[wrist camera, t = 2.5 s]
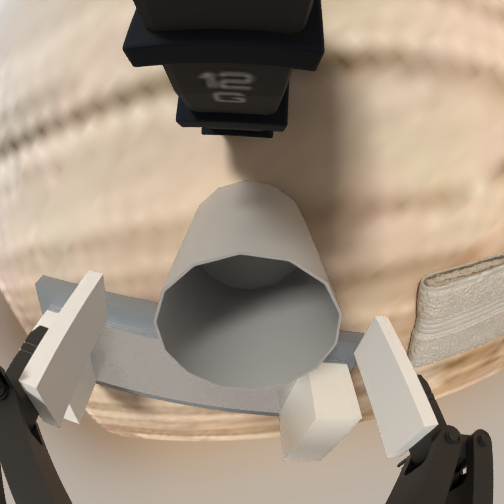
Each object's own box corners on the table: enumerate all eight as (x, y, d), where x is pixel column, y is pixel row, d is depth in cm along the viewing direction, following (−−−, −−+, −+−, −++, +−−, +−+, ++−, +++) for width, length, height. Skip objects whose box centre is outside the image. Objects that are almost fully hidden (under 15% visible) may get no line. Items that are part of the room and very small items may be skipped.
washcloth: (510, 316, 28) (522, 331, 25) (401, 359, 29) (410, 379, 27) (532, 237, 22) (549, 250, 19) (413, 273, 24) (428, 293, 21)
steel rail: (345, 357, 26) (346, 364, 25) (312, 408, 30) (313, 414, 29) (50, 304, 23) (47, 309, 22) (68, 365, 27) (66, 370, 27)
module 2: (346, 364, 25) (362, 417, 20) (313, 414, 29) (320, 460, 24) (306, 361, 25) (316, 418, 19) (279, 412, 29) (282, 460, 24)
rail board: (363, 333, 26) (367, 343, 25) (317, 407, 32) (318, 417, 31) (43, 275, 23) (35, 284, 22) (66, 362, 29) (61, 371, 28)
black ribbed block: (204, 179, 18) (97, 14, 3) (224, 19, 17) (214, -144, 2) (266, 183, 18) (344, 14, 3) (274, 21, 18) (302, -141, 3)
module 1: (82, 320, 23) (54, 369, 18) (96, 380, 27) (79, 424, 22) (47, 309, 22) (16, 354, 17) (66, 370, 27) (46, 411, 21)
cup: (304, 283, 24) (328, 384, 15) (200, 288, 24) (178, 390, 15) (306, 178, 20) (350, 245, 11) (184, 185, 20) (134, 256, 11)
